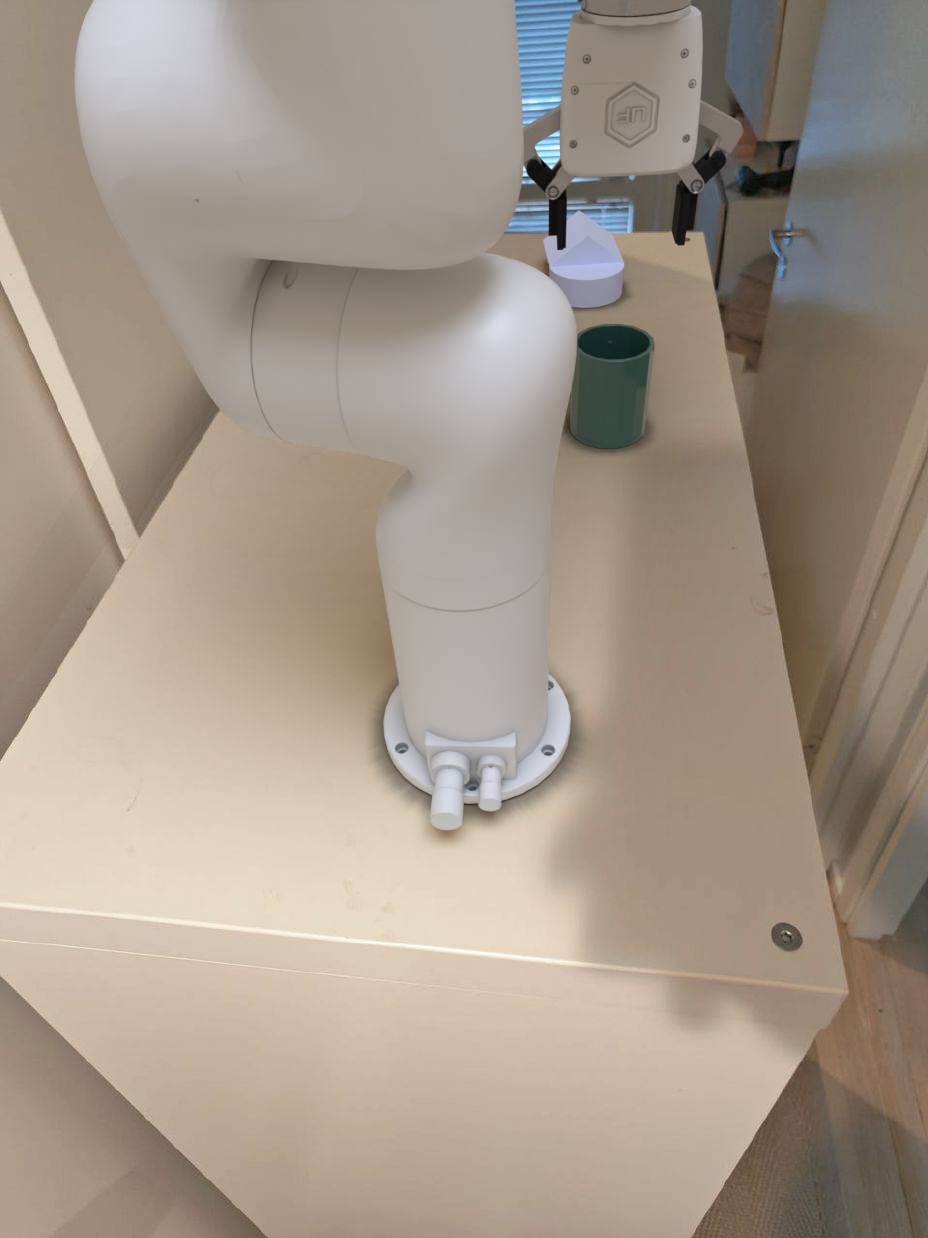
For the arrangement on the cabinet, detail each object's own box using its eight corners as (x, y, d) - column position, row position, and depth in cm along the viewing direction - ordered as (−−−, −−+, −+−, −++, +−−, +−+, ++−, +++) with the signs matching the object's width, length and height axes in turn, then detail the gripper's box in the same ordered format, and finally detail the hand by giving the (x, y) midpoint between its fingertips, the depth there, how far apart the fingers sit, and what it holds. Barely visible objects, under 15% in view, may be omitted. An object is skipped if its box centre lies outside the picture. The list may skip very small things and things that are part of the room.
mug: (647, 448, 80) (658, 360, 74) (571, 449, 81) (574, 362, 74) (638, 392, 87) (647, 308, 81) (568, 393, 88) (571, 310, 82)
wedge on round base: (542, 266, 111) (552, 309, 102) (543, 212, 106) (553, 253, 97) (611, 261, 111) (627, 304, 102) (614, 207, 106) (632, 248, 97)
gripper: (509, 8, 56) (514, 264, 69) (776, -9, 55) (732, 256, 67) (511, -15, 62) (515, 227, 74) (755, -30, 60) (718, 219, 72)
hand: (619, 241), depth 70 cm, fingers open, 9 cm apart
